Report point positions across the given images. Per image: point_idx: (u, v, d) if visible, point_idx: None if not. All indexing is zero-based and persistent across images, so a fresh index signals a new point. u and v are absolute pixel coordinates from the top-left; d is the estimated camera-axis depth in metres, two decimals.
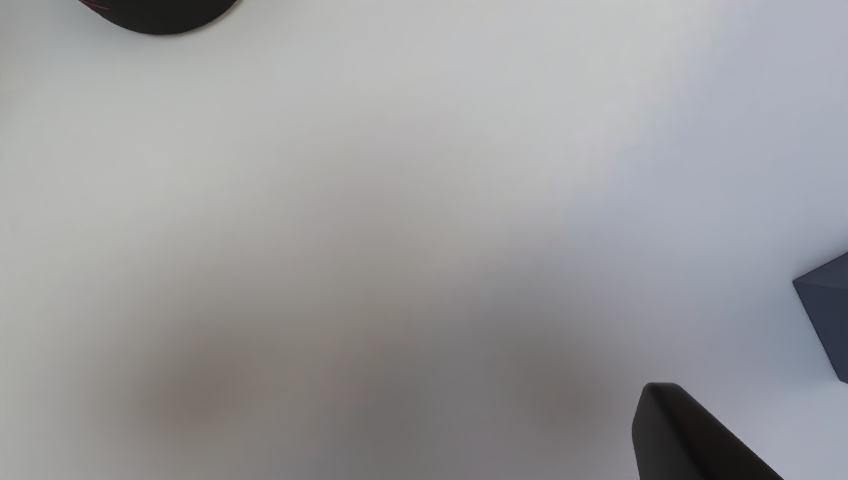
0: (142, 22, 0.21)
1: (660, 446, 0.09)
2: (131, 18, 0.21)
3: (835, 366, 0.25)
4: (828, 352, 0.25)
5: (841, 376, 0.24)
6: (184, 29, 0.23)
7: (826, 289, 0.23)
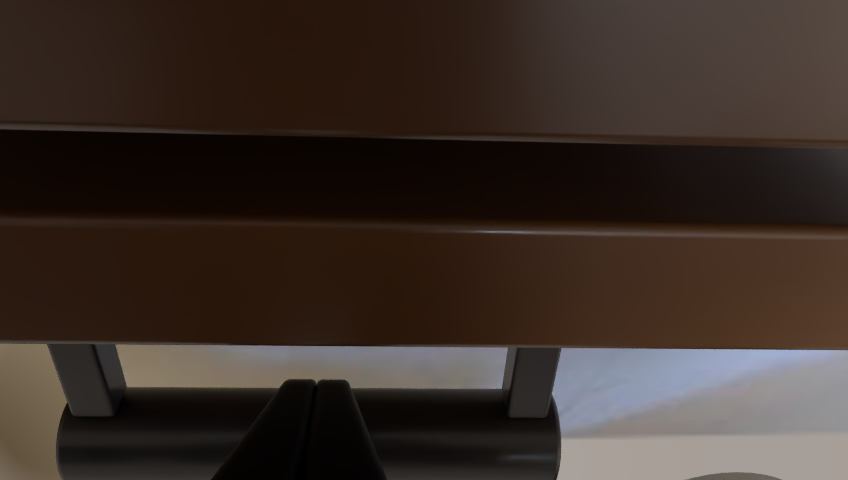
0: None
1: None
2: None
3: None
4: None
5: None
6: None
7: None
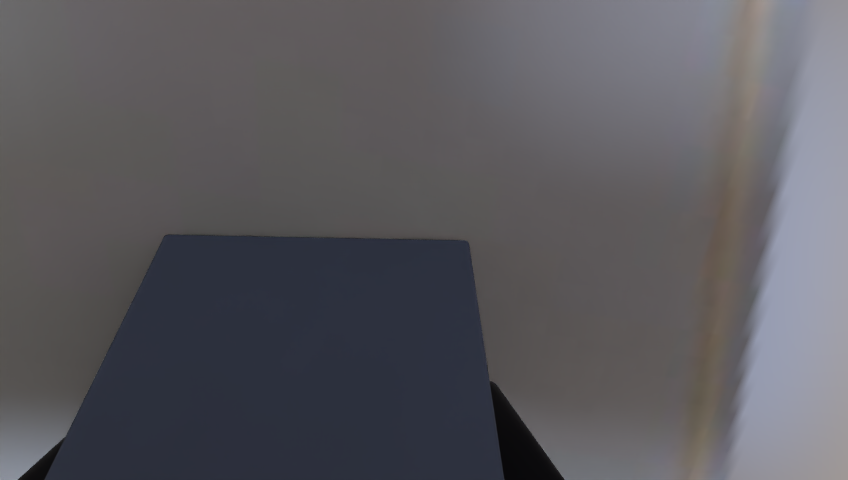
0: None
1: None
2: None
3: None
4: None
5: None
6: None
7: None
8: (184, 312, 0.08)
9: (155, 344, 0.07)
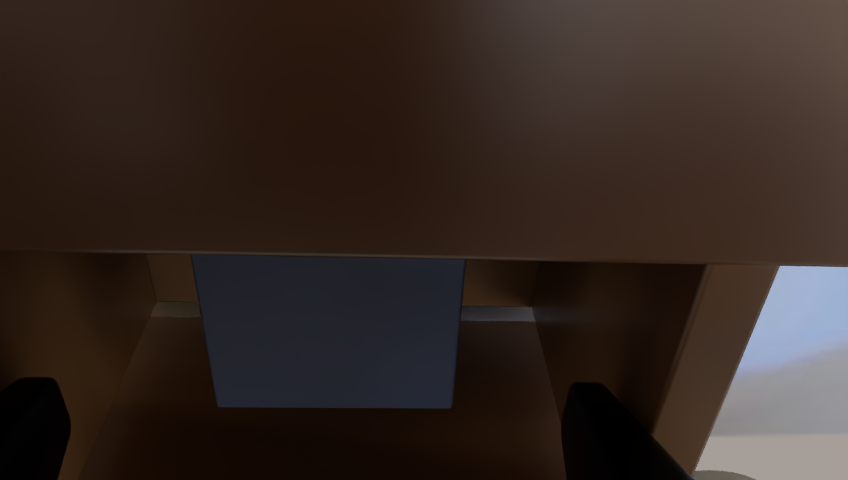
0: None
1: (581, 446, 0.09)
2: None
3: None
4: None
5: None
6: None
7: None
8: None
9: None
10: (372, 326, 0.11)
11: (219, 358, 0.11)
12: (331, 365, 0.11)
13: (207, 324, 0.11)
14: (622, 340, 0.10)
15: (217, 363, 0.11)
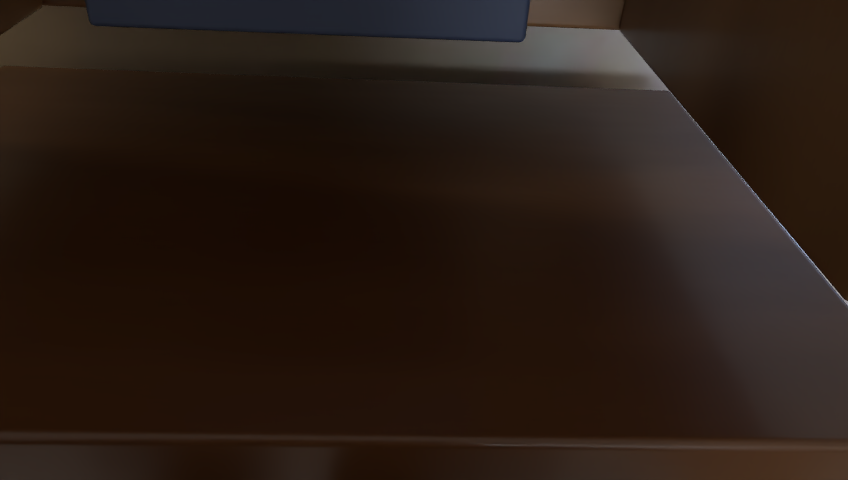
0: None
1: None
2: None
3: None
4: None
5: None
6: None
7: None
8: None
9: None
10: None
11: None
12: None
13: None
14: None
15: None
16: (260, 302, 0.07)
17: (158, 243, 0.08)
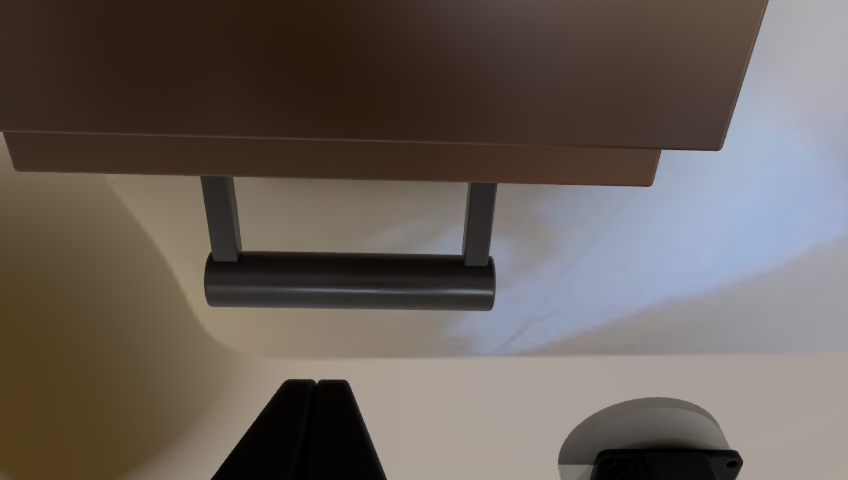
0: None
1: None
2: None
3: None
4: None
5: None
6: None
7: None
8: None
9: None
10: None
11: None
12: None
13: None
14: None
15: None
16: None
17: None
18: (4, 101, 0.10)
